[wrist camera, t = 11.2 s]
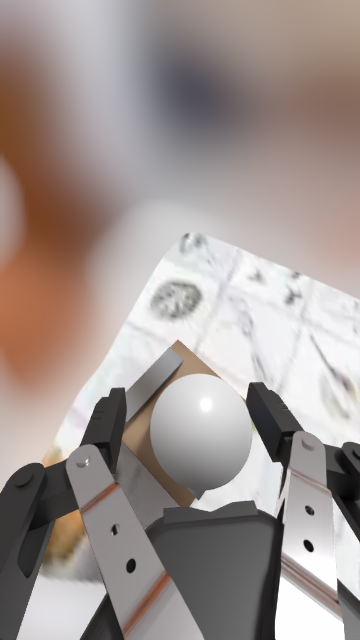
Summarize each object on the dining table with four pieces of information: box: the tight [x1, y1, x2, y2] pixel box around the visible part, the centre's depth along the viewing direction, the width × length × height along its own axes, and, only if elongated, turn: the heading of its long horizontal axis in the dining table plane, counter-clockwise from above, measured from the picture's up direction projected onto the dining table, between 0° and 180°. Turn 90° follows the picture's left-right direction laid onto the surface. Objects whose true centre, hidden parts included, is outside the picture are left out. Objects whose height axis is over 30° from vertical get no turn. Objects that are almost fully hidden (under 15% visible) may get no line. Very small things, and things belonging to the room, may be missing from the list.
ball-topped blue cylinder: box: [150, 374, 252, 490], centre depth 14 cm, size 5×5×10 cm
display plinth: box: [122, 340, 251, 507], centre depth 20 cm, size 10×10×6 cm
